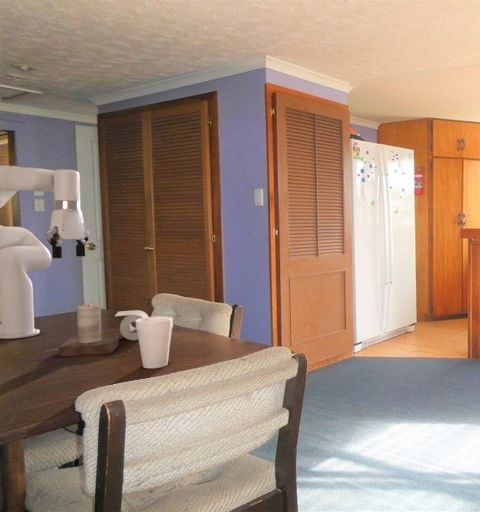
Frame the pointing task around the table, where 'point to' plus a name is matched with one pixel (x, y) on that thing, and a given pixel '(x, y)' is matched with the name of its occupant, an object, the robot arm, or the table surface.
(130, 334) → the toilet paper holder
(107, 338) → the brown square plate
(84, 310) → the rotary dial knob
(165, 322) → the foam cup
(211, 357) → the table surface
